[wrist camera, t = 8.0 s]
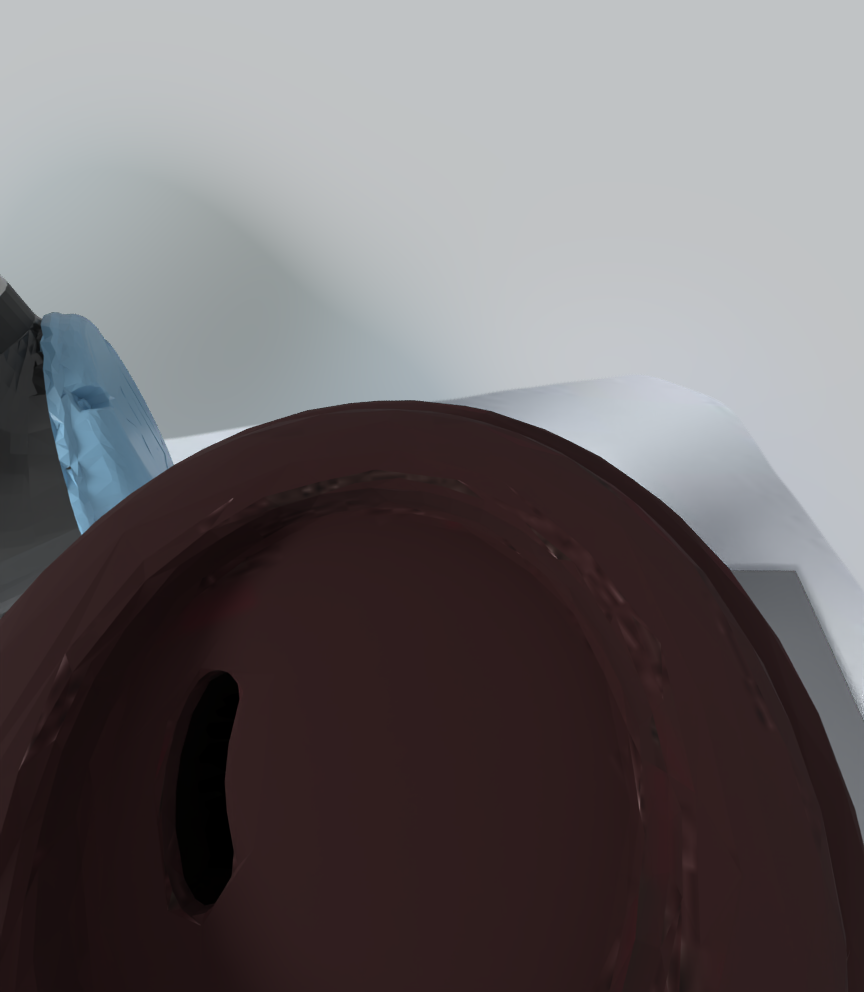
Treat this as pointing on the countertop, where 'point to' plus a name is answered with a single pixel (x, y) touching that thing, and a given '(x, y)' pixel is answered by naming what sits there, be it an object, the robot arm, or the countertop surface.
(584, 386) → the countertop surface
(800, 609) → the mat
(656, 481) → the countertop surface
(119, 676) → the coffee cup
